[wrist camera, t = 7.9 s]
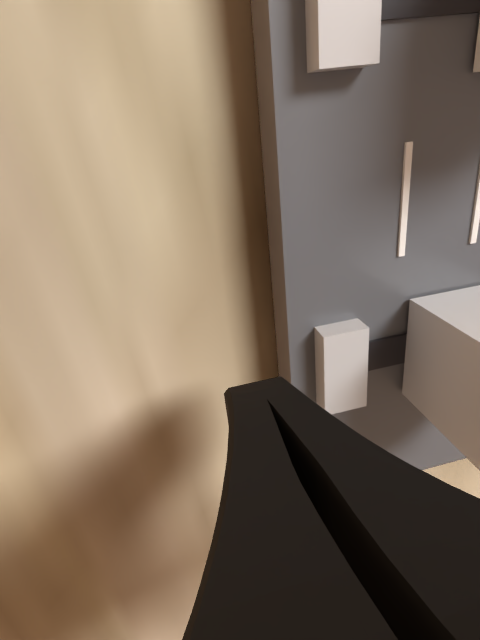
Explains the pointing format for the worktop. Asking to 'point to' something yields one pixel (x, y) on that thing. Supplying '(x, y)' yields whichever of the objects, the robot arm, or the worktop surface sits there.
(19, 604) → the worktop surface
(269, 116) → the fader console
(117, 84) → the worktop surface
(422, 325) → the cream slider knob
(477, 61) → the fader cap cream
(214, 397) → the worktop surface
